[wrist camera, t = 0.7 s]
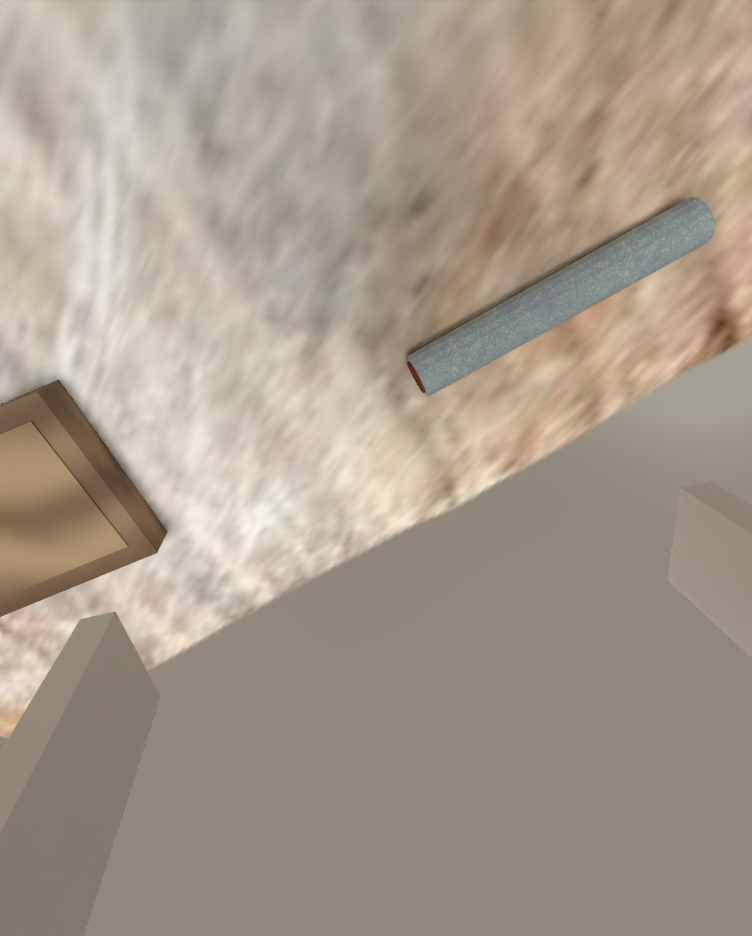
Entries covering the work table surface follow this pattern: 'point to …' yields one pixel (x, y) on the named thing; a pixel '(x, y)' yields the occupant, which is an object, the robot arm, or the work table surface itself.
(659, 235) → the aluminum foil
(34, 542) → the base
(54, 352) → the work table surface
